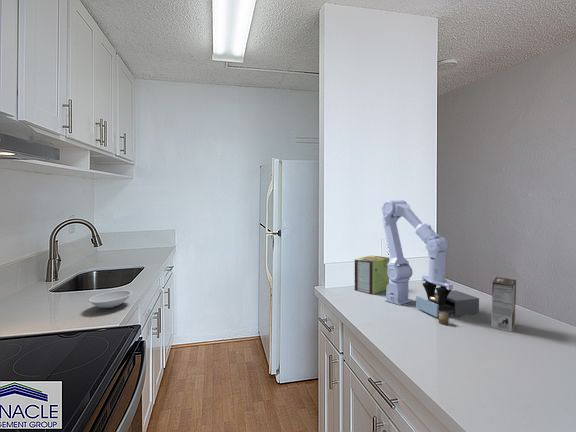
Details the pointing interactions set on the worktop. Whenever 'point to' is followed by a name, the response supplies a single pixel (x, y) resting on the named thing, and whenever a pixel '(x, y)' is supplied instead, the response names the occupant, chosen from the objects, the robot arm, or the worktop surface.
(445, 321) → the post
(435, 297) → the puck
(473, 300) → the box
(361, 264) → the protein box
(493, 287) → the coffee box
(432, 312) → the tray
